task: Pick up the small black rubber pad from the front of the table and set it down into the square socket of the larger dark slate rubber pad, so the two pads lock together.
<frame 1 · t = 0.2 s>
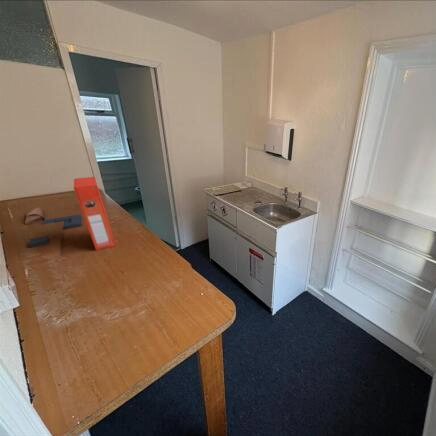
black pad: (41, 246, 114), on the table
sunglasses case: (35, 218, 141), on the table
socket pad: (63, 224, 136), on the table
file binder: (104, 241, 121), on the table
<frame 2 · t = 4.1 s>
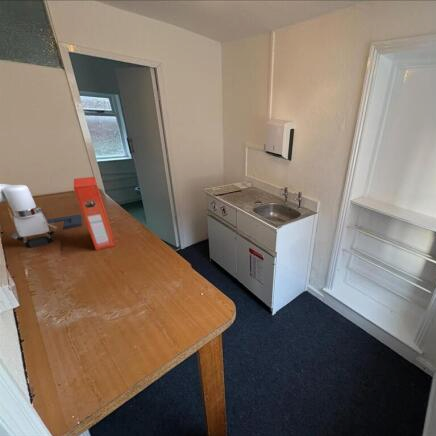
hand: (41, 245, 113), 1 cm above the table, tool pointing down, fingers closed on black pad, 6 cm apart
black pad: (41, 246, 114), on the table, touching gripper
everything else where it was.
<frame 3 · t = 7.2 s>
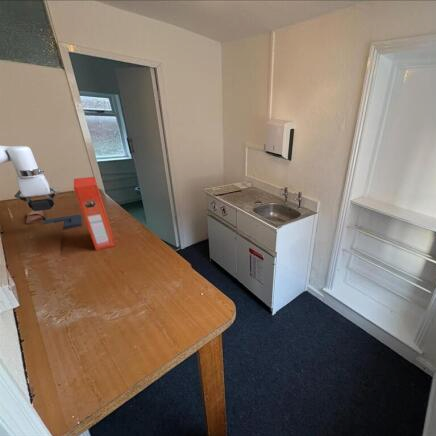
hand: (42, 207, 119), 16 cm above the table, tool pointing down, fingers closed on black pad, 6 cm apart
black pad: (43, 208, 119), point 15 cm above the table, touching gripper
everything else where it was.
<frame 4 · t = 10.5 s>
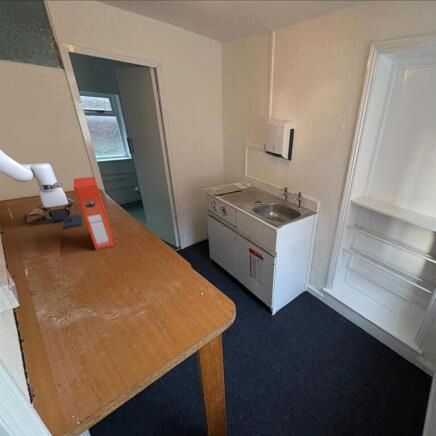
hand: (61, 216, 134), 5 cm above the table, tool pointing down, fingers closed on black pad, 6 cm apart
black pad: (61, 217, 134), point 4 cm above the table, touching gripper
everything else where it was.
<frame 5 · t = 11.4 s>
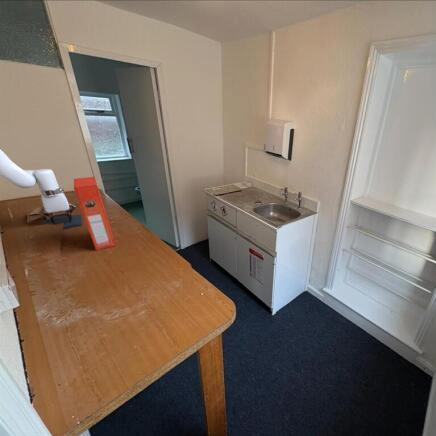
hand: (62, 221, 135), 2 cm above the table, tool pointing down, fingers closed on black pad, 6 cm apart
black pad: (63, 222, 135), point 1 cm above the table, touching gripper
everything else where it was.
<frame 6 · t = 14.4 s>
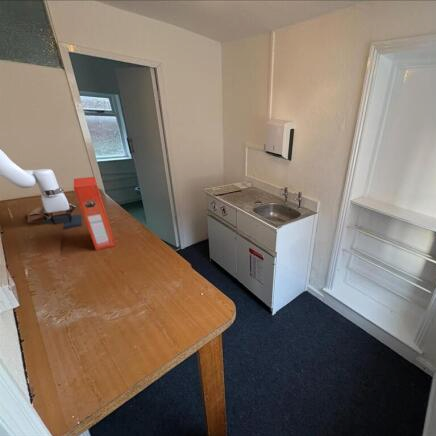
hand: (62, 221, 135), 2 cm above the table, tool pointing down, fingers closed on black pad, 5 cm apart
black pad: (63, 222, 135), point 1 cm above the table, touching gripper
everything else where it was.
when the fingers open (2 cm above the table, at t = 16.8 s): black pad drops 1 cm, resting on socket pad.
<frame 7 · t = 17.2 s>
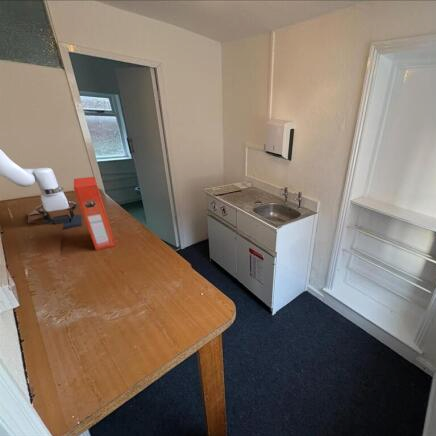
hand: (61, 219, 134), 3 cm above the table, tool pointing down, fingers open, 9 cm apart
black pad: (63, 223, 135), point 1 cm above the table, touching socket pad
everything else where it was.
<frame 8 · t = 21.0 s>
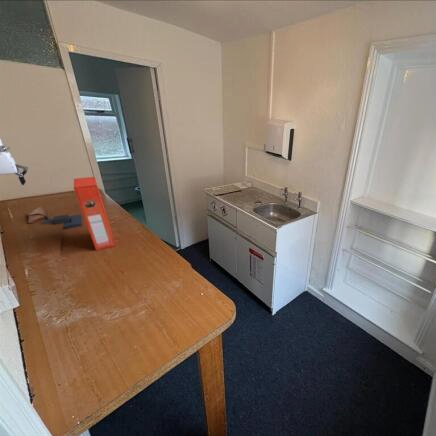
hand: (9, 185, 115), 26 cm above the table, tool pointing down, fingers open, 9 cm apart
at the end: black pad 0.1 cm off-centre on the socket pad, point 0.6 cm above the socket pad's base; black pad tilted 0°; the gripper is holding nothing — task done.
